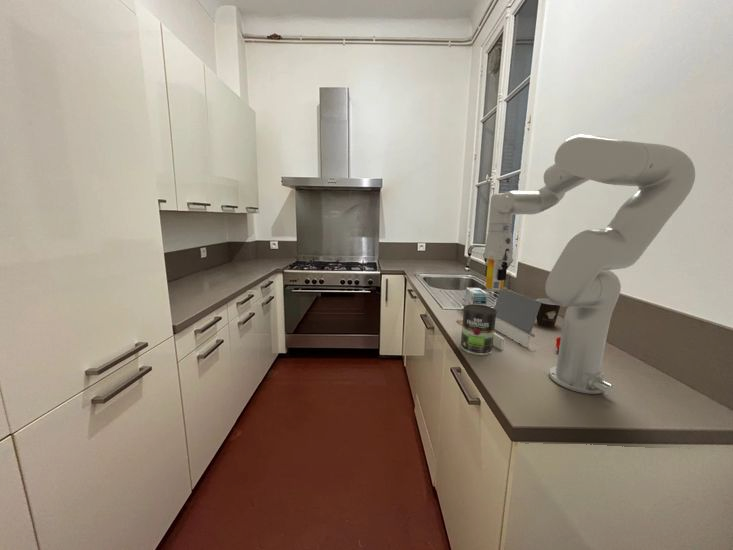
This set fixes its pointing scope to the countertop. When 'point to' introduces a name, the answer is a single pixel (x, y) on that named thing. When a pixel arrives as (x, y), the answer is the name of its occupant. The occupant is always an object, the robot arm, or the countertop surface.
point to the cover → (517, 310)
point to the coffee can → (478, 329)
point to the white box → (509, 335)
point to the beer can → (493, 273)
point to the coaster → (460, 321)
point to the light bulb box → (476, 296)
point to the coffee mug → (547, 313)
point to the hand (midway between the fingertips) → (495, 277)
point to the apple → (558, 342)
